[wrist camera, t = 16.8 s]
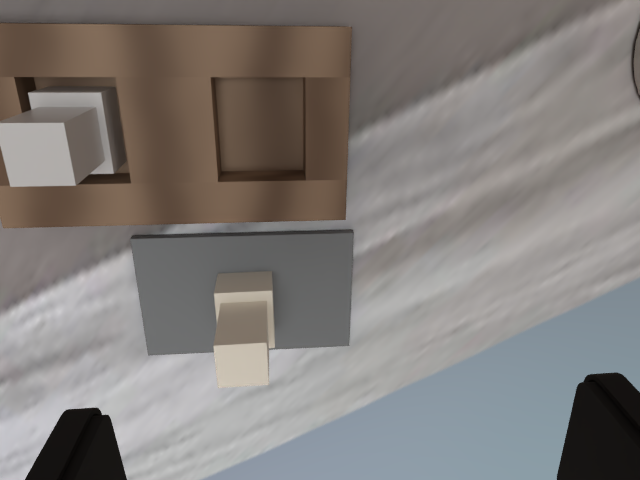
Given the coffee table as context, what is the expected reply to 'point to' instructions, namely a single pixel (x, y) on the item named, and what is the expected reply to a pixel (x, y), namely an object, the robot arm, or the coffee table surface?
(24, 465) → the coffee table surface
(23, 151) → the grey plug
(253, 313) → the ivory plug
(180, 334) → the mat
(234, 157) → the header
